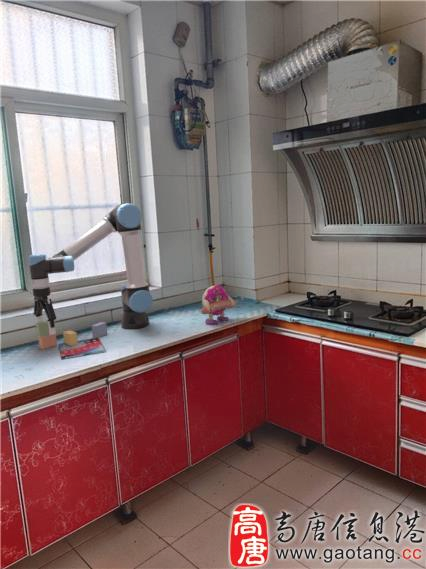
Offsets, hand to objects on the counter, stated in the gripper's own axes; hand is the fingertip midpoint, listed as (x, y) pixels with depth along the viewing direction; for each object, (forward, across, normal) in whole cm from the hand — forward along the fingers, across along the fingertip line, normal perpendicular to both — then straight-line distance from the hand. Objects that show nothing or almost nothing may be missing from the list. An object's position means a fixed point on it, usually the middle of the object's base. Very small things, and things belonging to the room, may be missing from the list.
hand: (46, 332), depth 207 cm
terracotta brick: (+7, 0, 0) cm, 7 cm away
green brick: (+1, 0, -1) cm, 1 cm away
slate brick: (+7, +4, +25) cm, 26 cm away
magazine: (+8, +16, +9) cm, 20 cm away
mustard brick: (+7, +6, +8) cm, 13 cm away
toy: (+7, +36, +78) cm, 86 cm away
